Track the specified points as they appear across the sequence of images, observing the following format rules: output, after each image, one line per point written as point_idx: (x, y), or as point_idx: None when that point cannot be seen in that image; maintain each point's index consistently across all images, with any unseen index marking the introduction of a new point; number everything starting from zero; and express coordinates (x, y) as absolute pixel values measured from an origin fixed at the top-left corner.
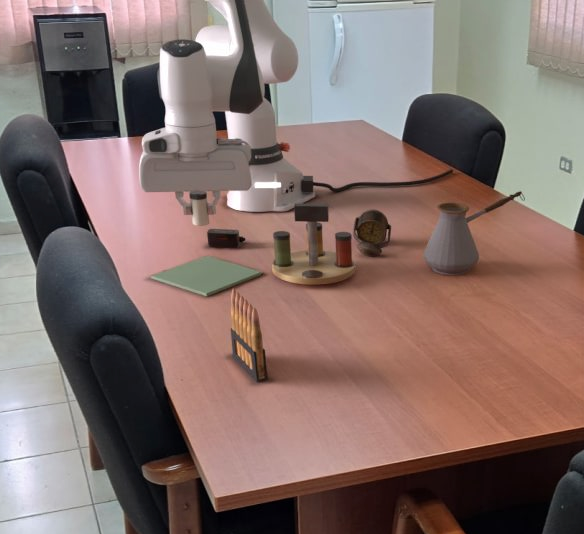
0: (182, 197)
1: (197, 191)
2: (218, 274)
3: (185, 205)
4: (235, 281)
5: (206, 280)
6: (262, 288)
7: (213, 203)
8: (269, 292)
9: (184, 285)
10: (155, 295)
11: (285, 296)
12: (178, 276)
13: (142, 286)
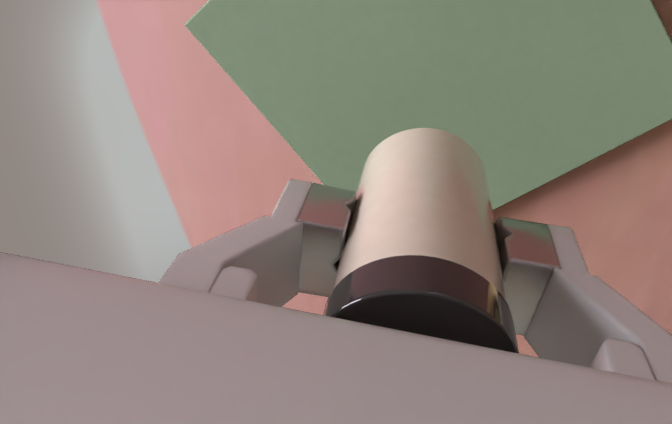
0: (252, 250)
1: (417, 329)
2: (482, 86)
3: (289, 296)
4: (530, 186)
5: None
6: (616, 243)
7: (546, 356)
8: (624, 283)
9: (321, 173)
10: (222, 196)
11: (662, 327)
12: (302, 65)
13: (166, 100)
